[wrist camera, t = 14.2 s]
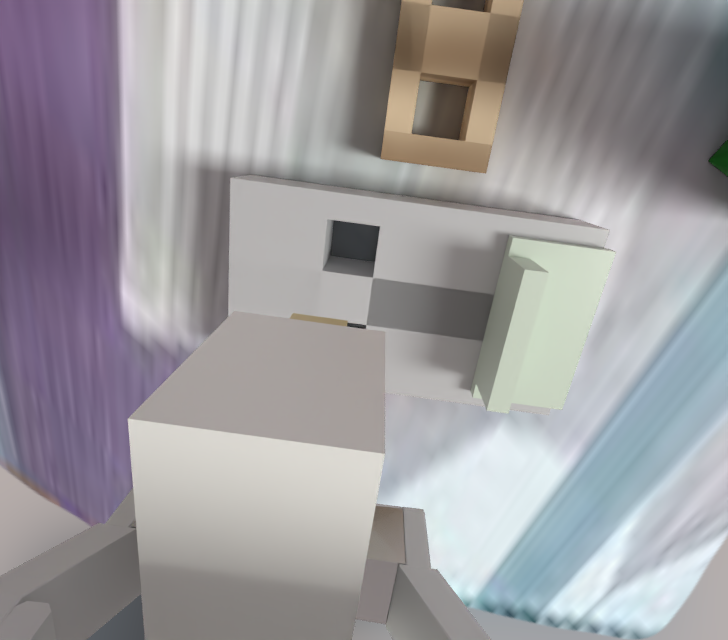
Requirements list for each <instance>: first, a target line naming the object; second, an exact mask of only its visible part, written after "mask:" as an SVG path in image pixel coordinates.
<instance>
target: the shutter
mask: <svg viewBox="0 0 728 640" xmlns="http://www.w3.org/2000/svg"><path fill="white" fill-rule="evenodd" d="M615 254H616V252H615V251H613V250H610V249H606V248H599V247H591V246H584V245H577V244H570V243H562V242H555V241H548V240H541V239H533V238H526V237H519V236H512V235H509V238H508V242H507V246H506V250H505V254H504V258H503V262H502V266H501V270H500V274H499V278H498V282H497V286H496V290H495V294H494V298H493V302H492V306H491V310H490V314H489V318H488V322H487V326H486V330H485V334H484V338H483V342H482V346H481V350H480V354H479V358H478V362H477V366H476V370H475V374H474V378H473V382H472V386H471V390H470V392H471V394H472V397H473V398H479V399H482V400H483V402H484V405H485V407H486V410H487V411H494V412H501V413H509V410H510V407H511V403H515V404H523V405H530V406H537V407H544V408H552V409H559V410H562V408H563V405H564V402H565V400H566V397H567V394H568V391H569V388H570V385H571V382H572V379H573V376H574V373H575V370H576V367H577V365H578V362H579V359H580V356H581V353H582V350H583V347H584V344H585V341H586V338H587V335H588V332H589V329H590V327H591V324H592V321H593V318H594V315H595V312H596V309H597V306H598V303H599V300H600V297H601V294H602V292H603V289H604V286H605V283H606V280H607V277H608V274H609V271H610V268H611V265H612V262H613V259H614V257H615Z"/></svg>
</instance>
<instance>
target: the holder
mask: <svg viewBox="0 0 728 640" xmlns="http://www.w3.org/2000/svg"><path fill="white" fill-rule="evenodd" d="M523 2H524V0H485V5H484V11H483V12H480V11H473V10H465V9H458V8H451V7H444V6H437V5H431V3H432V0H402V2H401V9H400V17H399V24H398V32H397V39H396V47H395V54H394V62H393V69H392V77H391V84H390V92H389V99H388V107H387V114H386V122H385V129H384V137H383V144H382V152H381V159H385V160H392V161H399V162H407V163H414V164H421V165H428V166H436V167H443V168H450V169H457V170H465V171H472V172H479V173H486V171H487V166H488V162H489V157H490V153H491V148H492V144H493V139H494V134H495V130H496V125H497V121H498V116H499V112H500V107H501V102H502V98H503V93H504V89H505V84H506V80H507V75H508V70H509V66H510V61H511V57H512V52H513V47H514V43H515V38H516V34H517V29H518V25H519V20H520V15H521V11H522V6H523ZM420 80H422V81H429V82H436V83H443V84H451V85H458V86H465V87H469V89H468V94H467V99H466V104H465V110H464V115H463V120H462V125H461V131H460V136H459V140H452V139H445V138H438V137H431V136H424V135H416V134H411V133H412V126H413V120H414V113H415V107H416V100H417V94H418V87H419V81H420Z"/></svg>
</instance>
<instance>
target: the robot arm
mask: <svg viewBox="0 0 728 640" xmlns="http://www.w3.org/2000/svg"><path fill="white" fill-rule="evenodd" d="M140 594H141V582H140V569H139V556H138V543H137V530H136V517H135V504H134V491H133V488H132V490H131V491H130V492H129V493H128V495H127V496H126V497H125V499H124V500H123V501H122V503H121V504H120V505H119V506H118V508H117V509H116V510H115V512H114V513H113V514H112V516H111V517H110V518H109V519H108V521H107V522H106V523H105V524H101V523H98V524H96V525H94V526H92V527H91V528H89V529H87V530H85V531H83V532H81V533H79V534H77V535H76V536H74V537H72V538H70V539H68V540H66V541H65V542H63V543H61V544H59V545H57V546H55V547H53V548H52V549H49V550H48V551H46V552H44V553H42V554H40V555H38V556H36V557H35V558H33V559H31V560H29V561H27V562H25V563H23V564H22V565H20V566H18V567H16V568H14V569H12V570H10V571H8V572H7V573H5V574H3V575H1V576H0V640H86V639H88V638H89V637H90V636H91V635H92V634H93V633H95V632H96V631H97V630H98V629H100V628H101V627H102V626H103V625H104V624H105V623H107V622H108V621H109V620H110V619H111V618H113V617H114V616H115V615H116V614H117V613H118V612H120V611H121V610H122V609H123V608H125V607H126V606H127V605H128V604H129V603H131V602H132V601H133V600H134V599H135V598H136V597H138V596H139V595H140ZM356 619H357V620H363V621H369V622H375V623H381V624H386V628H387V630H388V632H389V634H390V636H391V638H392V640H491V639H490V637H489V636H488V635H487V634H486V632H485V631H484V630H483V628H482V627H481V626H480V624H479V623H478V622H477V620H476V619H475V618H474V617H473V615H472V614H471V613H470V611H469V610H468V609H467V607H466V606H465V605H464V604H463V602H462V601H461V600H460V598H459V597H458V596H457V594H456V593H455V592H454V591H453V589H452V588H451V587H450V585H449V584H448V583H447V581H446V580H445V579H444V578H443V576H442V575H441V574H440V572H439V571H438V570H437V569H431V564H430V555H429V546H428V538H427V529H426V520H425V512H424V511H423V509H416V508H408V507H398V506H390V505H383V504H376V507H375V513H374V518H373V524H372V530H371V535H370V541H369V547H368V552H367V558H366V563H365V569H364V575H363V580H362V586H361V592H360V597H359V603H358V608H357V614H356Z"/></svg>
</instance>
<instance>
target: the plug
mask: <svg viewBox="0 0 728 640" xmlns="http://www.w3.org/2000/svg"><path fill="white" fill-rule="evenodd" d="M347 322H348V321H347V320H340V319H333V318H325V317H318V316H311V315H304V314H296V313H293V314H292V315H291V317H290V319H289V318H282V317H274V316H267V315H260V314H253V313H245V312H238V311H234V312H233V313H232V314H231V315H230V316H229V317H228V318H227V319H226V320H225V321H224V322H223V323H222V324H221V325H220V326H219V327H218V328H217V329H216V330H215V331H214V332H213V333H212V334H211V335H210V336H209V337H208V338H207V339H206V340H205V341H204V342H203V343H202V344H201V345H200V346H199V347H198V348H197V349H196V350H195V351H194V352H193V353H192V354H191V355H190V356H189V357H188V358H187V359H186V360H185V361H184V362H183V363H182V364H181V365H180V366H179V367H178V368H177V369H176V370H175V371H174V372H173V373H172V374H171V375H170V376H169V378H168V379H167V380H166V381H165V382H164V383H163V384H162V385H161V386H160V387H159V388H158V389H157V390H156V391H155V392H154V393H153V394H152V395H151V396H150V397H149V398H148V399H147V400H146V401H145V402H144V403H143V404H142V405H141V406H140V407H139V408H138V409H137V410H136V411H135V412H134V413H133V414H132V415H131V416H130V417H129V418H128V426H129V439H130V452H131V465H132V478H133V491H134V504H135V517H136V530H137V543H138V556H139V569H140V582H141V595H142V608H143V621H144V634H145V640H352V637H353V630H354V625H355V620H356V614H357V608H358V603H359V597H360V592H361V586H362V580H363V575H364V569H365V563H366V558H367V552H368V547H369V541H370V535H371V530H372V524H373V518H374V513H375V507H376V502H377V496H378V490H379V485H380V479H381V473H382V468H383V462H384V456H385V332H383V331H376V330H369V329H361V328H354V327H347Z"/></svg>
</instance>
